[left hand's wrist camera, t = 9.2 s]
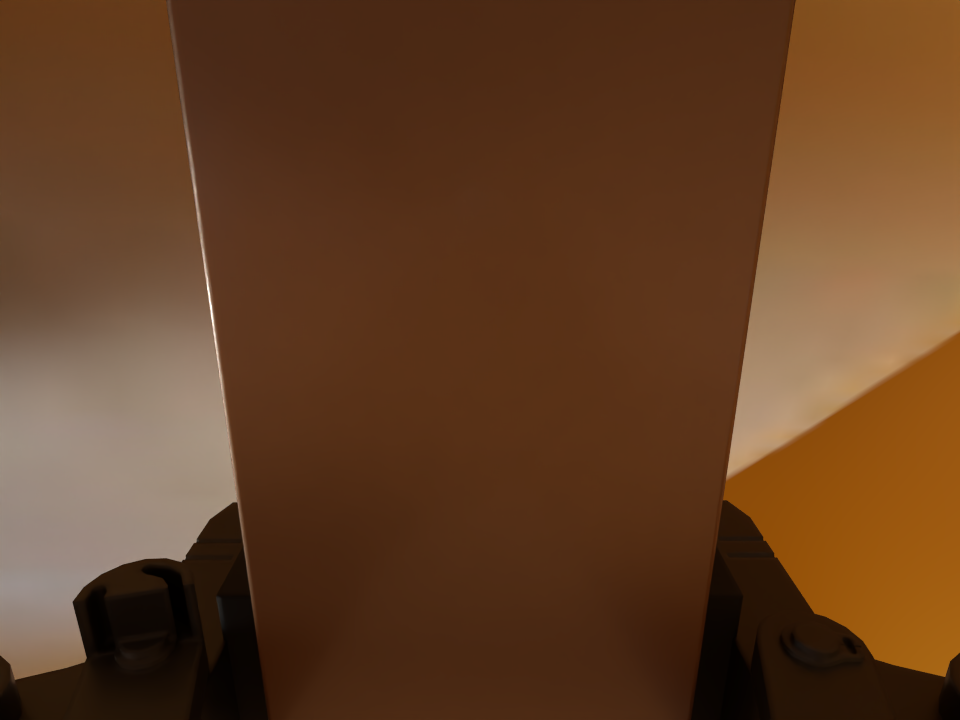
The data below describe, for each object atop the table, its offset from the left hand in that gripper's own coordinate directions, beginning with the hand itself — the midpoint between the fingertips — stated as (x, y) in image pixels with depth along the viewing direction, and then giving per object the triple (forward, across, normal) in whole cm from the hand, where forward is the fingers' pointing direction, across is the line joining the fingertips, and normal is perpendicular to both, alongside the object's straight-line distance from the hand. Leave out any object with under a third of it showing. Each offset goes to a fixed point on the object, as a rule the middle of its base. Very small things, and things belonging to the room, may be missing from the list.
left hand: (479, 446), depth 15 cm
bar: (+1, 0, -13) cm, 13 cm away
